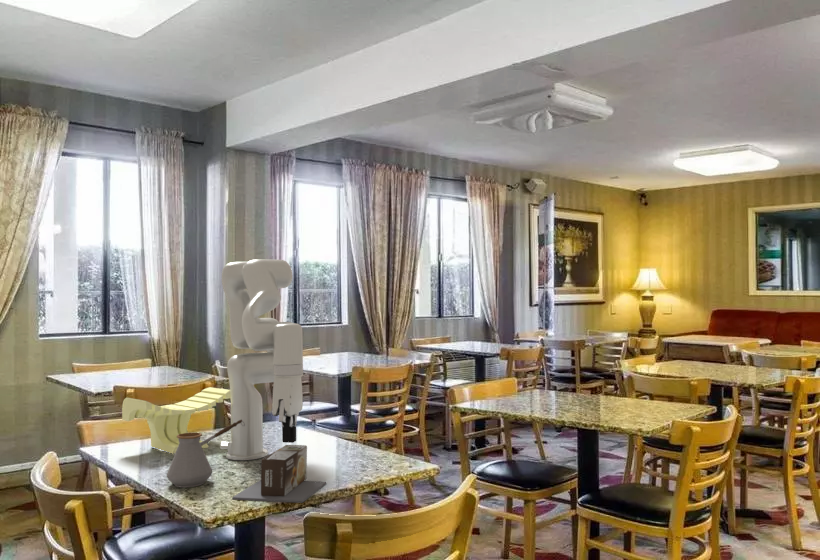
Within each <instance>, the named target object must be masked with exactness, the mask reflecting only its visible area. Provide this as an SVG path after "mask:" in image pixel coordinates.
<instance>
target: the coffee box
mask: <svg viewBox="0 0 820 560" xmlns="http://www.w3.org/2000/svg"><path fill="white" fill-rule="evenodd" d="M307 457H308V446H307V445H305V444H285V445H284V446H282V447H280V448H279V449H277V450H275V451H274V452H272V453H270V454H268V455H267V456H265V457H262V458H260V459H261V461H260V465H261V466H260V471H261V472H260V473H261V474H260V475H261V476H260V480H261V495H264V496H285V495H287V494H288V493H289V492H290V491H292V490H293V489H294V488H295V487H297V486H298V485H299V484H301V483H302V482H303V481H307V478H308V477H307V472H308V471H307V468H308V463H307V462H308V458H307Z"/></svg>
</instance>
